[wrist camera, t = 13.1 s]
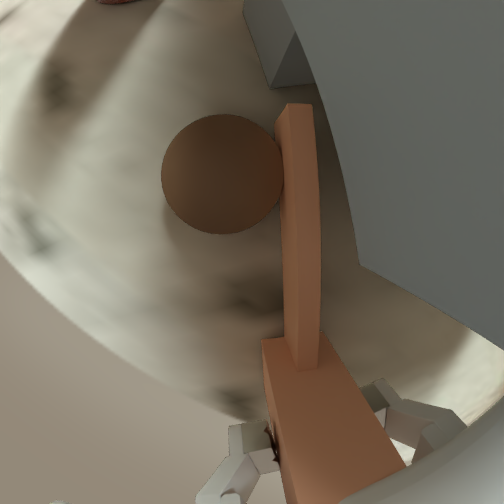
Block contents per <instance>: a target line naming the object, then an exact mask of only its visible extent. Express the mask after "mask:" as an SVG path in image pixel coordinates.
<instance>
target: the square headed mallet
mask: <svg viewBox="0 0 504 504" xmlns="http://www.w3.org/2000/svg"><path fill="white" fill-rule="evenodd" d="M274 131H275V144H276V145H277V147H278V149H279V152H280V154H281V158H282V161H283V168H284V178H283V185H282V189H281V193H280V195H279V204H280V223H281V243H282V267H283V297H284V337H279V338H270V339H261V344H262V360H263V377H264V389H265V394H266V399H267V405H268V410H269V416H270V421H271V426H272V431H273V437H274V442H275V446H276V452H277V456H278V460H279V465H280V472H281V477H282V483H283V487H284V492H285V497H286V502H287V504H338V503H339V502H340V501H342V500H343V499H345V498H346V497H348V496H349V495H351V494H353V493H355V492H357V491H359V490H361V489H363V488H365V487H367V486H369V485H371V484H373V483H375V482H377V481H380V480H382V479H384V478H386V477H388V476H390V475H392V474H394V473H396V472H398V471H400V470H402V469H404V468H405V467H407V466H406V465H405V463H404V461H403V460H402V458H401V456H400V455H399V453H398V451H397V450H396V448H395V446H394V445H393V443H392V441H391V440H390V438H389V436H388V435H387V433H386V432H385V430H384V428H383V427H382V425H381V423H380V422H379V420H378V418H377V417H376V415H375V414H374V412H373V410H372V409H371V407H370V406H369V404H368V402H367V401H366V399H365V397H364V396H363V394H362V393H361V391H360V389H359V388H358V386H357V385H356V383H355V381H354V380H353V378H352V377H351V375H350V374H349V372H348V370H347V369H346V367H345V366H344V364H343V362H342V361H341V359H340V358H339V356H338V355H337V353H336V351H335V350H334V348H333V347H332V345H331V344H330V342H329V340H328V339H327V337H326V336H325V334H324V333H323V331H322V332H319V330H320V302H321V228H320V199H319V180H318V164H317V151H316V139H315V128H314V118H313V109H312V104H294V103H288V104H287V105H286V107H285V108H284V110H283V111H282V112H281V114H280V115H279V117H278V118H277V120H276V121H275V123H274Z"/></svg>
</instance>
